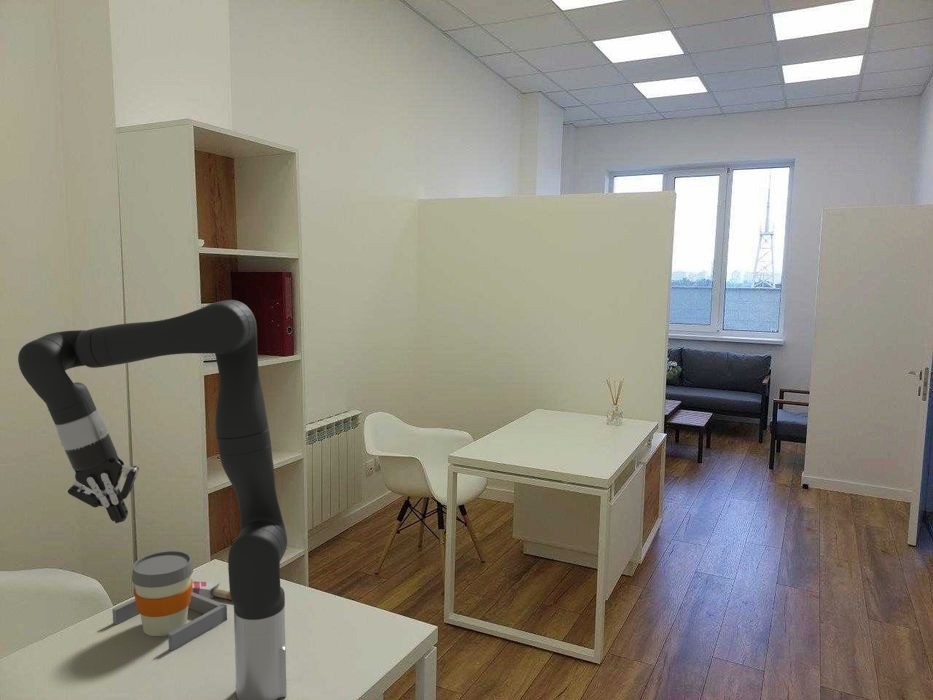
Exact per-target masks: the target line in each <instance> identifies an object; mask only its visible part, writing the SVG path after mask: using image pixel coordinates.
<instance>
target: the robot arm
mask: <svg viewBox="0 0 933 700" xmlns="http://www.w3.org/2000/svg"><path fill="white" fill-rule="evenodd" d="M185 354H186V355H187V354H212V355H213V354H214V355H215V360H216V364H217V365H216V366H217V369H218V377H219V378H218V380H219V381H218V383H219V384H218V395H217V400H216V408H215V409H216V410H215V434H216V435H215V436H216V442H217V443H216V444H217V447H218V449H217V450H218V455H219V459H220V463H221V466H222V468H223V471H224V472H225V475H226V477H227V479H228V480H229V482H230V484H231V486H232V488H233V490H234V492H235V494H236V498H237V502H238V507H239V510H238V511H239V517H240V529H239V530H240V531H239V534H238V535H237V537H236V538H235V539H234V541H233V542H232V543H231V545H230V548H229V551H228V558H227V559H228V560H227V563H228V564H227V570H228V583H229V584H228V585H229V587H228V588H229V591H230V597H231V600H230V601H231V602H232V604H233V622H234V626H233V627H234V656H235V657H234V658H235V659H234V663H235V666H234V667H235V690H236V692H235V693H236V699H237V700H278V699H280V698H285V697H287V657H286V656H287V654H286V653H287V652H286V650H287V649H286V648H287V647H286V642H287V641H286V608H285V607H286V599H285V597H286V596H285V595H286V594H285V590H284V588H283V587H282V586H281V561H282V559H283V557H284V555H285V553H286V550H287V547H288V546H287V545H288V535H287V531H286V527H285V523H284V519H283V516H282V511H281V508H280V505H279V500H278V496H277V489H276V479H275V478H276V477H275V468H274V460H273V451H272V442H271V436H270V435H271V434H270V427H269V423H268V416H267V411H266V404H265V397H264V392H263V389H262V383H261V378H260V372H259V371H260V369H259V355H258V326H257V320H256V318H255V315H254V312H252V309H250V307H248V305H247V304H245V303H244V302H241V301H239V300H235V299H225V300H221V301H215V302H212V303H210V304H207V305H206V306H204V307H202V308H199V309H195V310H193V311H190V312H188V313H187V312H186V313H184V314H182V315H179V316H174V317H171V318H166V319H160V320H155V321H141V322H129V323H128V322H127V323H120V324H114V325H112V324H111V325H107V326H106V325H105V326H100V327H96V328H95V327H94V328H91V329H86V330H85V329H81V330H80V329H79V330H63V331H56V332H51V333H48V334H45V335H42V336H40V337H38V338H37V339H34V340H32V341H29V342H27V343H25V344H24V345H23V346H22V347H21V349H20V350H19V352H18V357H17V362H18V368H19V370H20V372H21V374H22V376H23V377H24V379H25V380H26V382H27V383H28V384H29V386H30V387H31V388H32V389H33V391H34V392H35V393H36V394H37V395H38V397H39V398H40V399H41V400H42V401H43V402H44V403H45V404H46V407H47V409H48V412H49V414H50V416H51V418H52V421H53V423H54V424H55V425H54V426H55V429H56V431H57V436H58V438H59V440H60V445H61V446H62V447H63V450H64V452H65V455H66V457H67V458H68V459H67V460H68V461H69V463H70V465H71V468H72V469H73V470H74V472H75V475H74V479H75V481H74V482H73V484H72V485H71V486H70V487H69V489H68V490H67V494H69V495H70V496H72V497H73V498H76V499H77V500H80V501H82V502H83V503H84V504H85V503H86V504H87V505H88V506H91V507H92V508H97V507H98V508H99V507H102V508H105V510H106V512H107V514H108V516H109V519H110V520H111V521H112V522H114V523H115V524H119V523H122V522H125V521H126V519H127V518H128V515H129V510H128V507H127V505H126V503H125V501H124V500H125V499H127V497H128V496H129V495H130V493H131V492H132V489H133V487H134V484H135V481H136V478H137V475H138V473H139V470H140V468H139V466H138V465H133V466H130V465H126V464H125V463H124V461H123V460H122V459H121V458H120V457H119V456H118V453H117V452H118V451H117V450H116V447H115V445H114V443H113V440H112V438H111V435H110V432H108V429H107V427H106V424H105V421H104V420H103V418H102V416H101V415H100V412H99V411H98V409H97V406H96V405H95V402H94V399H93V398H92V396H91V395H92V394H91V393H90V390H89V389H88V387H87V386H86V385H85V383H82V382H73V381H72V379H71V378H70V376H69V375H68V373H67V372H66V371H67V370H70V369H73V368H77V367H85V366H86V367H87V368H91V369H99V368H104V367H110V366H111V367H112V366H117V365H123V364H124V365H125V364H129V363H134V362H138V361H143V360H147V359H153V358H158V357H165V356H170V355H173V356H174V355H185ZM122 474H123V478H124V479H125V481H124V483H123V487H122V489H121V482H120V479H121V476H122Z"/></svg>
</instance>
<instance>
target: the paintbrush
mask: <svg viewBox="0 0 933 700" xmlns="http://www.w3.org/2000/svg"><path fill="white" fill-rule="evenodd" d="M192 581H193V580H192ZM220 583H221V582H215V581H214V582H213V581H212V582H209V581H193V585H192V592H194V593H196V594H199V595H201V596H204V597H207V598H209V599H213V598H214V597H217V598H218V597H219V598H223V599H226V600H230V601H232V600H231V597H230V590H227V589H223V588H219V585H221V584H220Z"/></svg>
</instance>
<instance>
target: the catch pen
mask: <svg viewBox="0 0 933 700" xmlns="http://www.w3.org/2000/svg"><path fill="white" fill-rule="evenodd" d="M188 609H190V610H193V611H195V612H197V613H200V614H202V615H200V616H198V617H196V618H194V619H192V620H191V621H189V622H187V623H186V624H185V625H183V626H181V627H180V628H178V629H176V630H174V631H172V632H170V633H169V634H168V635H167V636H168V638H167V639H168V649H169V650H170V651H172V652H173V651H174V650H177V649H179V647H181V646H183V645H185V644H187V643H188V642H190V641H192V640H194V639H196V638H198V637H199V636H201V635H202V634H204V633H206V632H209V631H210V630H211V629H214V628H215V627H217V626H218V625H221V624H222V623H224V622H225V621H227V620H228V606H227V604H224V603H221V602H219V601H216V600H214V599H213V598H211V599H209V598H207V597H204V596H201V595H199V594H196V593H194V592H192V594H191V602H190V604H189V605H188ZM111 611H112V622H113V624H114V625H116V626H118V625H119V624H121V623H123V622H126V621H127V620H129V619H132V618H133V617H134V618H135V616H137V615H140V613H138V611H137V606H136V601H135V598H133V599H130V600H128V601H126V602H124V603H122V604H120V605H118V606H115V607H113V608H112V610H111Z"/></svg>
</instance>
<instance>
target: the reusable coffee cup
mask: <svg viewBox="0 0 933 700" xmlns="http://www.w3.org/2000/svg"><path fill="white" fill-rule="evenodd" d="M131 570H132V573H131V581H132V583H133V585H134V589H133V595H134V599H135V601H136V606H137V611H138V613H140V614H139V615H140V620H141V625H142V630H143V632H144V634H146V635H147V636H150V637H165V636H168V634H169V633H170V632H172V631H174V630H176V629H178V628H180V627H181V626H183V625H185V624H187V623H188V613H189V612H188V611H189V608H188V605H189V604H190V602H191V594H192V585H193V579H192V574H193V573H194V565H193V558H192V555H191V554H190V553H188V552H185V551H182V550H181V551H180V550H165V551H158V552H153V553H150V554H147V555H145V556H142V557H141V558H138V559H137V560H136V561H135V562H134V563H133V565H132V569H131Z"/></svg>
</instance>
